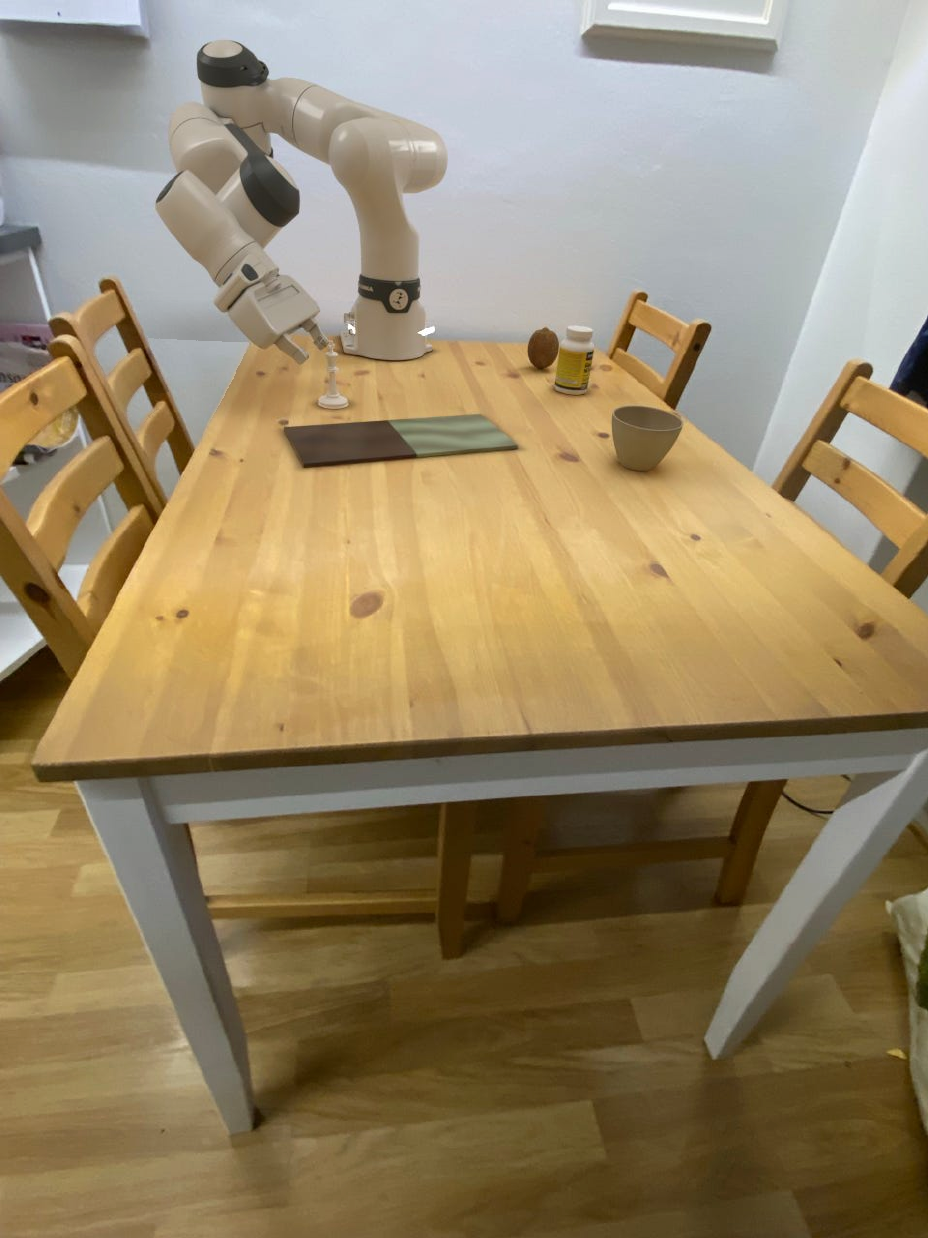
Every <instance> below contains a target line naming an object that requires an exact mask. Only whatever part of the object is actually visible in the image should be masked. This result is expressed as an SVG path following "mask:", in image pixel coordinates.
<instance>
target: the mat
mask: <svg viewBox="0 0 928 1238" xmlns="http://www.w3.org/2000/svg"><path fill="white" fill-rule="evenodd" d="M283 432H284V434H285V435H286V437H287V439H288V441H289V444H290V445H291V447H292V449H293V451H294V452H295V454H296V456H297V458H298V459H299V462H300V464H301V465H302V467H303V468H314V467H325V466H337V465H349V464H350V465H351V464H359V463H360V464H361V463H371V462H372V463H373V462H381V461H382V462H383V461H393V460H394V461H395V460H405V459H416V458H427V457H428V458H429V457H440V456H450V455H451V456H452V455H462V454H472V453H485V452H494V451H496V452H497V451H506V450H507V451H508V450H518V448H519V444H517V443H516V442H515V441H514V440H513V439H511V438H510V437H509V435H507V434H505V433H504V432H503V431H502V430H501V429H499V428H498V427H497V426H496V425H495V424H493V423H492V422H491V421H490V420H489V419H488V418H486V417H485V416H484V415H483V414H481V413H474V414H457V415H443V416H430V417H415V418H414V417H413V418H412V417H411V418H400V419H399V418H398V419H385V420H384V419H383V420H370V421H355V422H354V421H353V422H339V423H326V424H325V423H324V424H312V425H311V424H310V425H295V426H284V427H283Z"/></svg>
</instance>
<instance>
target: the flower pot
mask: <svg viewBox="0 0 928 1238" xmlns="http://www.w3.org/2000/svg"><path fill="white" fill-rule="evenodd" d="M683 427H684V420H683V419H682V418H681V417H679V416H678V415H677V414H675V413H673V412H670V411H668V410H665V409H661V408H658V407H652V406H647V405H637V404H635V405H623V406H618V407H616V408H614V409H613V411H612V412H611V434H612V435H611V436H612V441H613V447H614V450H615V453H616V456H617V460H618V461H619V463H620V465H621V466H623V467H624V468H626V469H629V470H631V471H637V472H648V471H651V470H654V468H656V467H657V466H658V465H659V464H660V463H661V462H662V461H663V459H664V458H665V457H666V456H667V455H668V454H669V452H670V451H671V450H672V448H673V447H674V445H675V443H676V442H677V440H678V438H679V436H680V434H681V433H682V429H683Z"/></svg>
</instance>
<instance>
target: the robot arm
mask: <svg viewBox="0 0 928 1238" xmlns="http://www.w3.org/2000/svg"><path fill="white" fill-rule="evenodd" d="M196 72H197V78H198V80H199V82H200V89H201V96H202V101H203V104H202V103H200V102H196V101H187V102H183V103H182V104H180V105H178V106H177V107H176V108H175V109H174V110H173V111H172V113H171V116H170V120H169V124H168V144H169V150H170V154H171V155H170V156H171V158H172V162H173V165H174V169H175V170H176V172H177V173H176V174H175V175H174V176H173V177H172V179H170V180H169V181H168V183H167V184H166V185H165V186H164V188H162V190H161V191H160V193H159V194H158V196H157V198H156V200H155V205H154V208H155V211H156V213H157V215H158V217H159V218H160V219H161V221H162V223H163V224H164V225H165V227H166V228H167V229H168V231H169V232H170V233H171V235H172V236H173V237H174V238H175V240H176V241H177V242H178V244H179V245H180V246H181V248H183V249H184V251H185V252H186V253H187V254H188V255H189V257H191V258H192V260H194V261H195V262H197V263H198V264H199V265H201V266H202V267H203V268H204V269H205V270H206V271H207V273H208V275H209V276H210V278H211V281H212V282H213V283H214V284H215V285H216V286H217V287H218V290H217V293H216V294H215V296H214V298H213V301H212V302H213V304H214V306H215V307H216V308H217V309H218V310H219V311H220V312H221V313H223V314H225V313H227V315H228V318H229V319H230V321H231V322H232V323H233V324H234V325H235V327H237V328H238V330H239V331H241V333H242V334H243V335H244V336H245V337H246V338H247V339H248V340H249V341H250V342H251V343H252V344H253V345H254V346H256V347H258V348H260V349H262V350H267V349H268V348H271V347H272V346H273V345H275V346H276V347H277V349H278V350H279V351H281V352H282V353H284V354H286V355H287V356H289V357H291V358H292V359H293V361H295V363H296V364H297V365H299V366H300V365H303V364H304V363H305V362H306V361H308V359H309V358H310V354H309V353H308V351H306V349H304V347H303V346H301V347H300V346H299V345H298V344H297V343H295V342H294V341H293V340H292V337H291V335H292V334H294V333H296V332H297V331H298V330H301V329H303V330H304V331H305V332H306V333H309V335H310V337H311V338H312V340H313V342H312V343H313V345H314V346H316V347H317V349H318V350H320V351H321V350H324V349H325V348H326V347H327V346H328V345H329V341H330V340H329V338H327V336H326V335H325V334H324V331H323V330H322V327H321V325H320V322H319V321H318V320H317V319H316V317H317V316H318V315H319V314H320V313H321V309H320V306H319V304H318V303H317V301H316V300H315V299H314V298H313V296H311V295H310V294H309V292H308V291H306V289H305V288H304V287H303V286H302V285H301V284H300V283H299V282H298V281H296V279H294V278H293V277H292V276H290V275H289V274H281V273H279V272H280V267H279V266H278V265H277V264H276V262H275V261H274V260H273V259H272V258H271V257H270V256H269V255H268V253H267V252H266V251H265V250H264V249H265V248H266V247H267V246H268V245H269V243H270V242H271V241H272V240H273V239H274V238H275V237H276V236H277V235H278V234H279V233H280V231H281V230H282V229H283V228H284V227H286V226H287V225H288V224H289V223H291V221H293V220H295V218H296V217H298V215H299V214H300V207H301V195H300V190H299V188H298V186H297V184H296V181H295V180H294V178H293V176H291V174H290V173H289V172H288V171H287V169H285V167H284V166H283V165H282V164H280V163H279V162H278V161H277V160H276V159H274V149H273V147H272V138H271V137H272V136H271V134H276V135H278V136H279V137H280V138H282V140H284V141H285V142H287V143H288V144H290V146H292V147H294V148H296V149H297V150H299V152H302V153H304V154H306V155H308V156H310V157H311V158H314V159H316V160H318V161H320V162H322V163H324V164H326V165H328V166H329V167H330V169H331V171H332V173H333V176H334V178H335V179H336V181H337V182H338V183H339V185H341V186H342V187H343V189H344V191H346V193H347V195H348V197H349V199H350V201H351V203H352V207H353V209H354V212H355V213H354V214H355V216H356V220H357V224H358V230H359V244H360V245H359V246H360V274H359V276H358V281H357V293H358V296H357V298H356V299H355V301H354V303H353V305H352V307H351V308H350V311H349V312H345V313H343V324H344V326H347V328H348V329H345V330H341V331H340V343H341V346H342V350H343V353H344V354H347V355H356V356H357V355H358V356H363V357H365V358H370V359H377V360H383V361H385V360H386V361H405V360H414V359H417V358H420V357H422V356H423V355H425V354H426V353H429V352H432V351H433V344H431V343H429V342H427V335H429V334H432V333H434V332H435V326H431V327H429V328H427V310H426V308H425V307H424V306H423V304H422V303H421V302H420V300H419V299H420V297H421V289H422V288H421V287H422V286H421V278H420V277H419V261H420V260H419V259H420V234H419V231H418V229H417V227H416V226H415V225H414V224H413V223H412V221H411V220H410V219H409V216H408V214H407V212H406V207H405V203H404V197H403V195H404V194H419V193H422V192H425V191H427V190H430V189H432V188H434V187H436V186H437V185H438V184H440V183H441V182H442V180H443V179H444V177H445V175H446V172H447V168H448V161H449V159H448V149H447V146H446V143H445V140H444V139H443V137H442V136H441V135H440V134H439V133H438V132H437V131H436V130H435V129H432V128H430V127H428V126H426V125H424V124H421V123H419V122H415V121H413V120H411V119H408V118H406V117H403V116H400V115H397V114H394V113H391V112H389V111H386V110H383V109H380V108H376V107H374V106H371V105H368V104H364V103H361V102H359V101H356V100H352V99H350V98H347V97H346V96H343V95H341V94H339V93H336V92H334V91H332V90H330V89H328V88H326V87H323V86H321V85H319V84H316V83H313V82H311V81H308V80H304V79H300V78H296V77H295V78H294V77H279V78H276V79H270V78H269V74H270V70H269V68H268V66H267V64H266V63H265V62H263V61H262V60H260V59H258V57H257V56H256V55H255V54H254V52H253V51H252V50H251V49H249V48H248V47H246V46H245V45H243V44H242V43H240V42H239V41H235V40H228V39H217V40H213V41H210V42H207V43H205V44H204V45H202V46H201V48H200V49H199V50H198V51H197V53H196Z"/></svg>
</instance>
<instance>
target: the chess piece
mask: <svg viewBox="0 0 928 1238" xmlns="http://www.w3.org/2000/svg"><path fill="white" fill-rule="evenodd" d="M326 347H327V349H328V351H326V352H325V354H324V355H325V359H326V362H327V364H328V366H326V367H325V371H326V372H327V373H328V384H327V392H325V395H322V396H319V398H318V400H317V401H318V402H317V405H318V406H319V407H321V408H324V409H328V410H340V409H344V408H348V406H349V403H348V402H349V400H348V398H346V397H345V396H343V395H341V393H339V389H338V384H337V383H338V382H337V376H336V373H337V372H339V371H340V368H339V367H337V366H336V364H337V360H338V357H339V354H338V353H337V351H334V348H336V344H335V343H334V340H332V339H331V340H329V344H328V345H327V346H326Z"/></svg>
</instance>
